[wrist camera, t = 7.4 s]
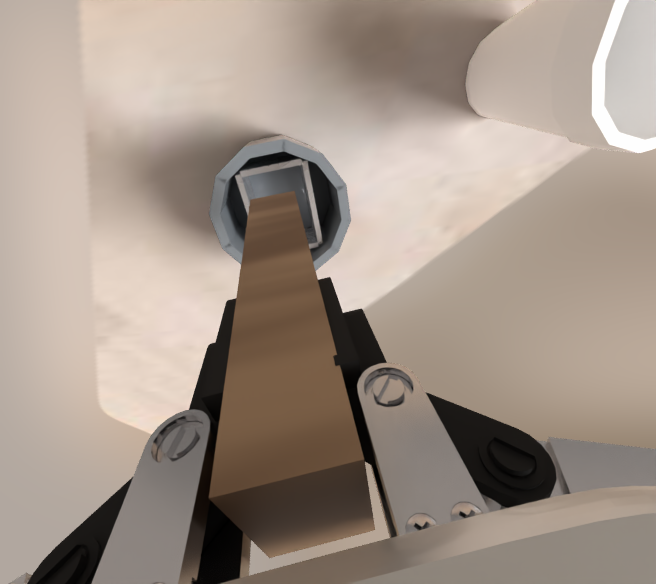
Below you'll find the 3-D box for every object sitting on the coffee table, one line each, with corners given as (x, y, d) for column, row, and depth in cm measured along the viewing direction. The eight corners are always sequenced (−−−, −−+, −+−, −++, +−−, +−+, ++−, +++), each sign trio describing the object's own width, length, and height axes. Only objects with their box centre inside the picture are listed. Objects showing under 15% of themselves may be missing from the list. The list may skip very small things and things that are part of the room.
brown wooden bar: (250, 199, 16) (209, 497, 4) (294, 190, 16) (364, 459, 5) (267, 256, 18) (269, 558, 6) (306, 248, 18) (375, 529, 7)
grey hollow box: (240, 165, 24) (234, 172, 21) (302, 152, 24) (306, 157, 21) (263, 242, 28) (261, 259, 24) (317, 230, 28) (323, 245, 24)
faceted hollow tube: (206, 150, 24) (187, 158, 18) (325, 125, 24) (338, 127, 19) (245, 259, 29) (238, 289, 24) (342, 237, 29) (356, 262, 24)
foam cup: (474, 161, 27) (609, 190, 16) (427, 63, 23) (568, 12, 12) (570, 82, 25) (800, 54, 14) (538, -41, 21) (836, -223, 10)
